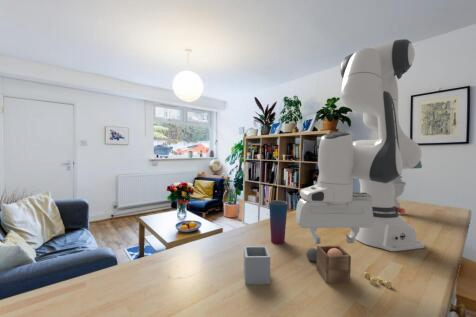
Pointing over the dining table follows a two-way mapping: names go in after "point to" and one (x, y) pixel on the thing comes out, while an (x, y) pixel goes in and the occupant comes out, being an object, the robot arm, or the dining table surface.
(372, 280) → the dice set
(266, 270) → the grey square open box
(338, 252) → the terracotta ball
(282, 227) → the cup
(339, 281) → the walnut tube
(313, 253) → the charcoal ball
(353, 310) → the dining table surface
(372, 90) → the robot arm
